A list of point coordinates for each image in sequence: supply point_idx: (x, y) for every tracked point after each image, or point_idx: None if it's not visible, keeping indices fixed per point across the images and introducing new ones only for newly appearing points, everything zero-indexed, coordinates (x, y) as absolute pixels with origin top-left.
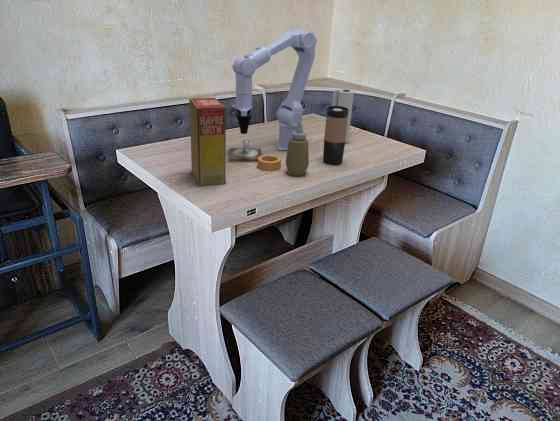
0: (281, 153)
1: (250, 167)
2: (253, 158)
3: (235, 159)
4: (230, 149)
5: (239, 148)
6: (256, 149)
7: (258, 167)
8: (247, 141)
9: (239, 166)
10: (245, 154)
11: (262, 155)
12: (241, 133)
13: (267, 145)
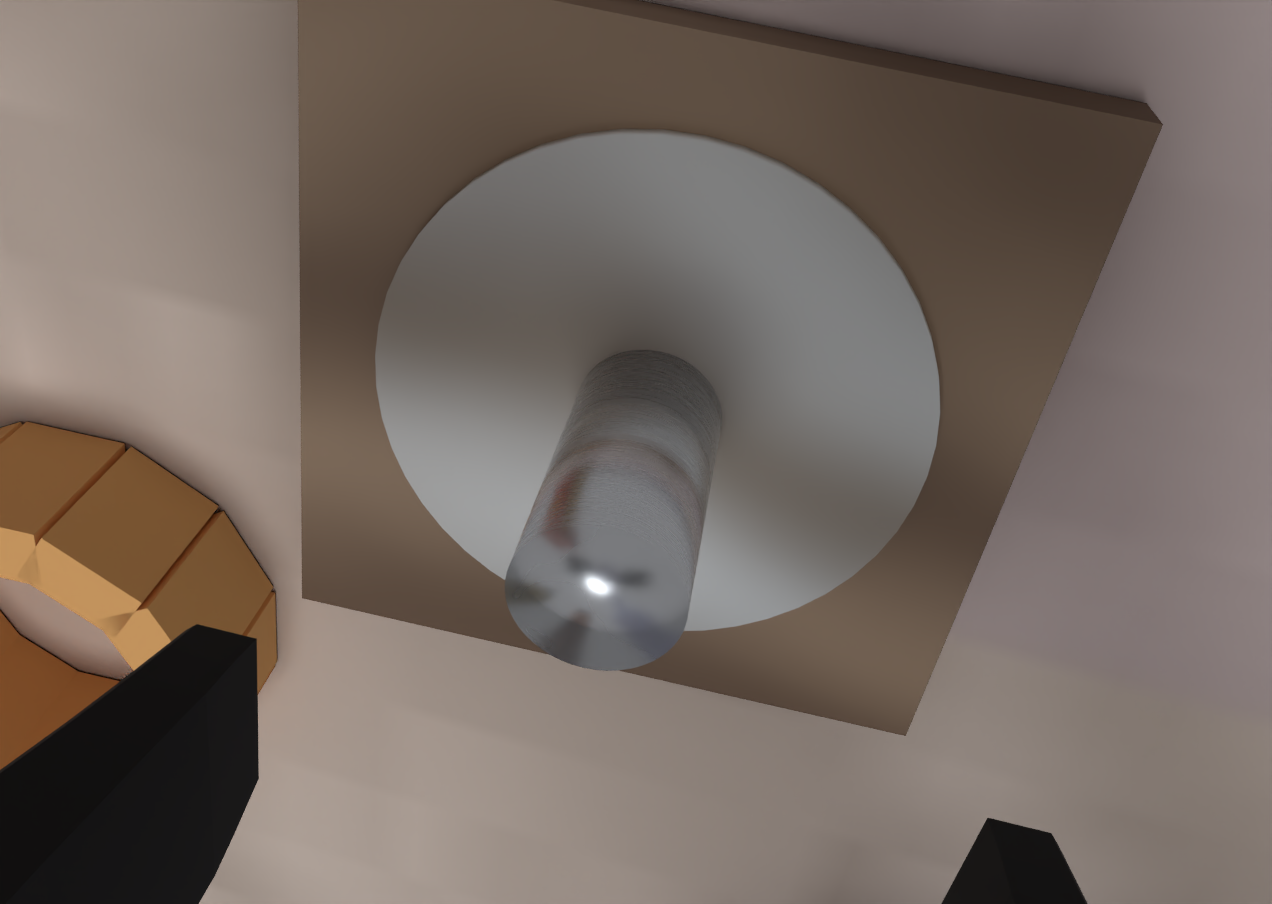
0: (687, 900)
1: (23, 301)
2: (329, 465)
3: (302, 96)
4: (1022, 125)
5: (1026, 362)
6: (849, 654)
7: (8, 427)
8: (514, 616)
9: (44, 104)
10: (526, 381)
11: (169, 637)
12: (179, 640)
13: (1158, 869)
